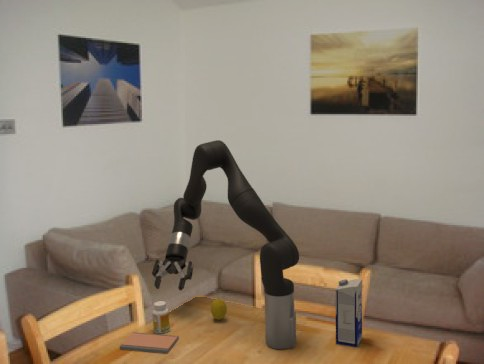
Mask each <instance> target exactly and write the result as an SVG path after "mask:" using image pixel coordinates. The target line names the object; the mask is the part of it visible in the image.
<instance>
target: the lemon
mask: <svg viewBox="0 0 484 364" xmlns="http://www.w3.org/2000/svg"><path fill="white" fill-rule="evenodd" d="M227 311H228V308H227V304H226V302H225V301H224V300H223V299H221V298H216V299H214V300H213V301H212V302H211V305H210V312H211V313H210V314H211V316H212V318H214V319H215V320H218V321H221V320H222V319H224V318H225V316H226V315H227Z"/></svg>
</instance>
